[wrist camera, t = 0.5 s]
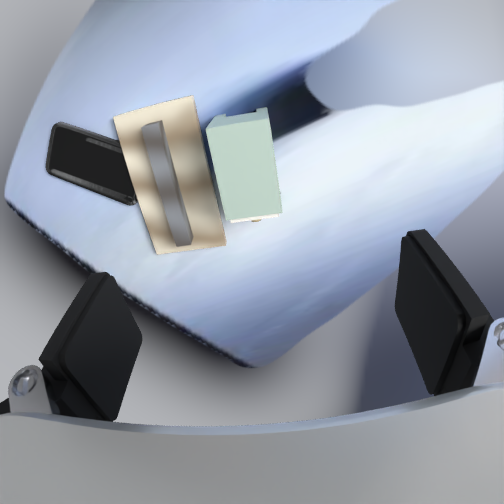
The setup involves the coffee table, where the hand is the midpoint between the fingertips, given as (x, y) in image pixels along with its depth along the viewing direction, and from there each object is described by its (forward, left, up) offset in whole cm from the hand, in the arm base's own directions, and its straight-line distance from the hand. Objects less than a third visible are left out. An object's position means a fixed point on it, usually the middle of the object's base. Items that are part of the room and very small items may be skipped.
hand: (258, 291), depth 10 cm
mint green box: (+4, -2, -30) cm, 31 cm away
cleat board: (+6, -12, -30) cm, 33 cm away
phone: (+1, -22, -31) cm, 38 cm away
